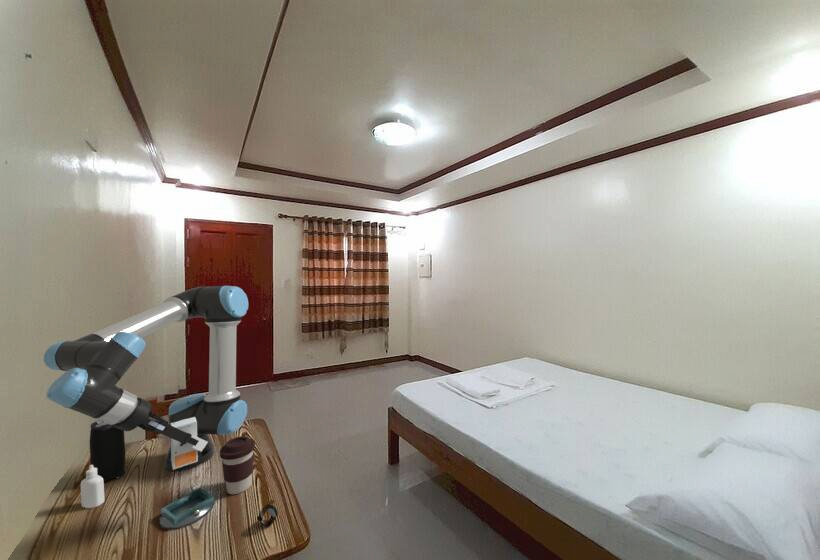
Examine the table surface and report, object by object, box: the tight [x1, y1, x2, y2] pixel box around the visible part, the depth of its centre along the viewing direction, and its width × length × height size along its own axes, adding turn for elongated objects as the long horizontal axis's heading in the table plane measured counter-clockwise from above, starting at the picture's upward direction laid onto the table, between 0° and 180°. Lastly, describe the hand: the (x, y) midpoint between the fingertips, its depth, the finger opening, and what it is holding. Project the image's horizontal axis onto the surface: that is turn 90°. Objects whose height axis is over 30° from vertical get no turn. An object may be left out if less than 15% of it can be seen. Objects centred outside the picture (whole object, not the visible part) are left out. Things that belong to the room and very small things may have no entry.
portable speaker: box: [89, 420, 126, 482], centre depth 107 cm, size 9×9×20 cm
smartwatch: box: [256, 503, 279, 528], centre depth 85 cm, size 4×5×5 cm
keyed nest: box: [159, 487, 216, 531], centre depth 91 cm, size 13×13×3 cm
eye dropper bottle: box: [80, 464, 105, 509], centre depth 94 cm, size 4×6×12 cm
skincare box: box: [170, 417, 198, 470], centre depth 90 cm, size 6×4×12 cm
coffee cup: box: [219, 435, 256, 495], centre depth 100 cm, size 10×10×15 cm
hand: (198, 443), depth 93 cm, fingers closed on skincare box, 6 cm apart
